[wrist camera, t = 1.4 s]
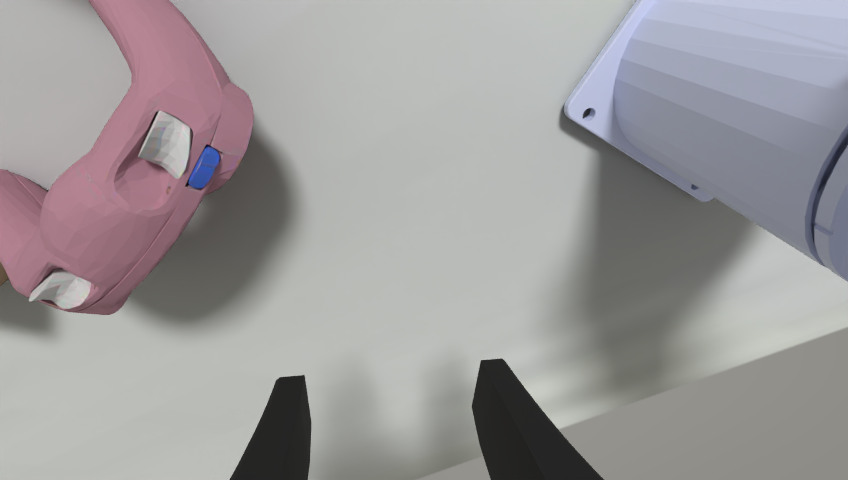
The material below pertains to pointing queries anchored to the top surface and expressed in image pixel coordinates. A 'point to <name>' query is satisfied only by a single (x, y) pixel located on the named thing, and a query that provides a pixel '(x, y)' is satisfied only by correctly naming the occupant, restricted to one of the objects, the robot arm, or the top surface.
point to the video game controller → (129, 169)
